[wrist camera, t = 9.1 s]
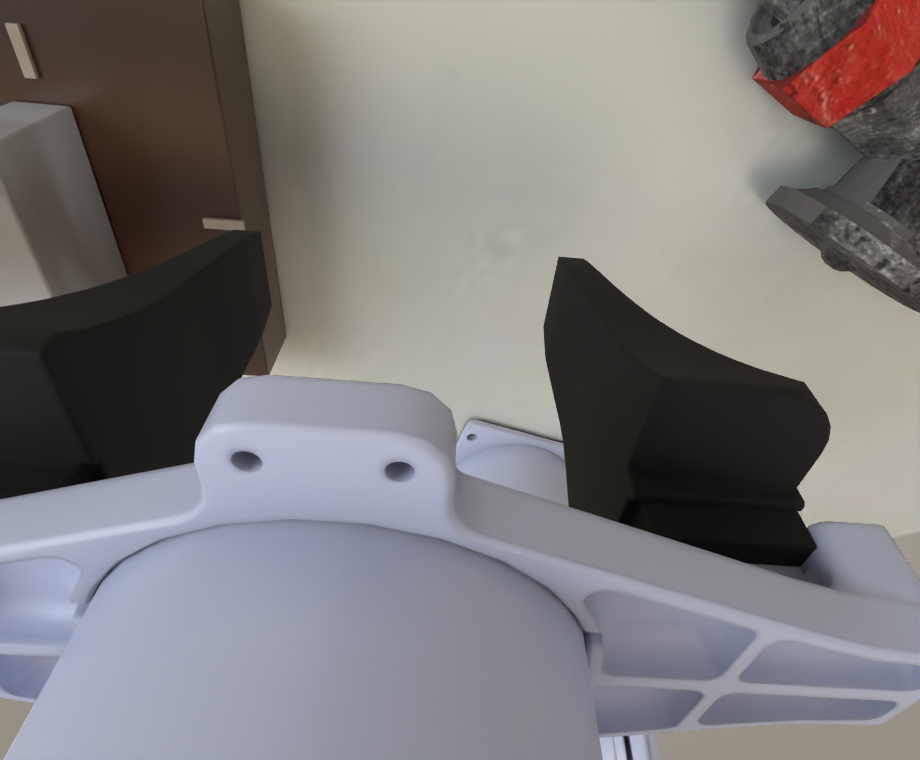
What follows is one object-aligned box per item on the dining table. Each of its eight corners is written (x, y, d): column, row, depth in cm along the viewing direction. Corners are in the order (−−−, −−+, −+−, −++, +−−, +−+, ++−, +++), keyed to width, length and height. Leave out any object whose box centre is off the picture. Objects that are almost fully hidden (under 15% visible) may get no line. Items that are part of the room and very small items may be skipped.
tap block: (288, 337, 26) (270, 379, 24) (46, 318, 26) (2, 360, 24) (238, -26, 18) (200, -17, 15) (-133, -64, 17) (-233, -61, 15)
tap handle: (136, 299, 22) (77, 367, 18) (89, 296, 22) (21, 363, 18) (71, 105, 17) (-22, 149, 14) (11, 100, 17) (-97, 143, 14)
